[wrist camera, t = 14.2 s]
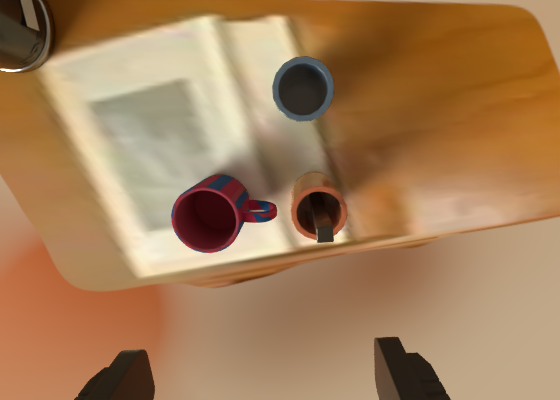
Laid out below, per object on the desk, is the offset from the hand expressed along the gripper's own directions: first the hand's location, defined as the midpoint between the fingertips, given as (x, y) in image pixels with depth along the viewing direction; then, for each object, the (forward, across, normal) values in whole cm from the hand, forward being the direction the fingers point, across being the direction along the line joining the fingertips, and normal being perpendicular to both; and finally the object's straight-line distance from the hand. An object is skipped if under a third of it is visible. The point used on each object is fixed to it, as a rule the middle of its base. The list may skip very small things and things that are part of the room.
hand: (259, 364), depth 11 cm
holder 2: (+26, -4, 0) cm, 26 cm away
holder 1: (+26, -3, -10) cm, 28 cm away
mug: (+26, +6, +1) cm, 27 cm away
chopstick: (+25, -4, 0) cm, 25 cm away
